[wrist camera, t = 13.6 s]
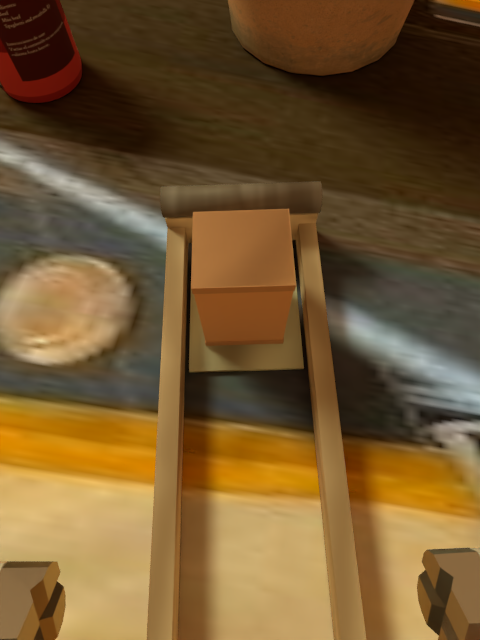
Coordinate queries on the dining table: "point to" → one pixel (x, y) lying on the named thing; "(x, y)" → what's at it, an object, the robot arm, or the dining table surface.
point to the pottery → (318, 32)
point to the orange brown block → (243, 275)
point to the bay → (253, 357)
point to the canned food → (37, 51)
